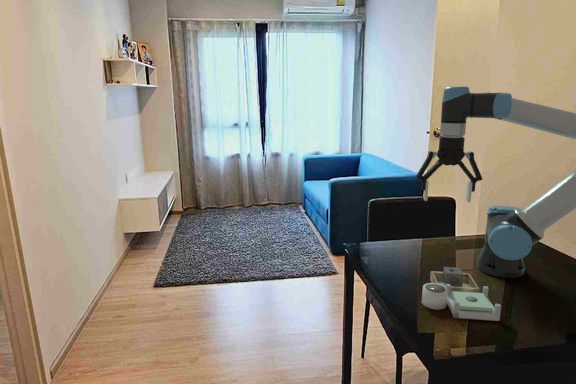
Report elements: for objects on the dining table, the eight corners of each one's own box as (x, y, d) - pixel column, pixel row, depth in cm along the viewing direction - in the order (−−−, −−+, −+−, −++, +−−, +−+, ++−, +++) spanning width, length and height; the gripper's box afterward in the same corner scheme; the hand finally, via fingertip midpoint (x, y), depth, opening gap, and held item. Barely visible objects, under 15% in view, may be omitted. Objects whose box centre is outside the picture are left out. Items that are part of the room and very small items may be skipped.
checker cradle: (485, 300, 125) (487, 286, 124) (499, 320, 113) (501, 306, 112) (444, 297, 126) (445, 283, 125) (453, 317, 115) (455, 303, 114)
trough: (468, 282, 137) (469, 273, 136) (478, 298, 126) (479, 289, 125) (429, 279, 138) (430, 271, 138) (436, 295, 128) (437, 286, 127)
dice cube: (442, 280, 136) (443, 266, 135) (458, 281, 135) (459, 267, 134) (445, 287, 132) (446, 273, 130) (461, 288, 131) (463, 274, 130)
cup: (443, 298, 126) (444, 283, 124) (448, 310, 119) (450, 294, 118) (419, 297, 127) (421, 282, 125) (423, 308, 120) (425, 292, 119)
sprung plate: (482, 296, 123) (483, 292, 123) (492, 311, 114) (493, 307, 114) (451, 294, 124) (451, 290, 124) (458, 309, 116) (459, 305, 115)
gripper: (489, 135, 133) (482, 198, 138) (410, 134, 136) (406, 196, 141) (497, 137, 126) (490, 204, 130) (413, 137, 129) (409, 202, 134)
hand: (446, 200), depth 136 cm, fingers open, 13 cm apart
